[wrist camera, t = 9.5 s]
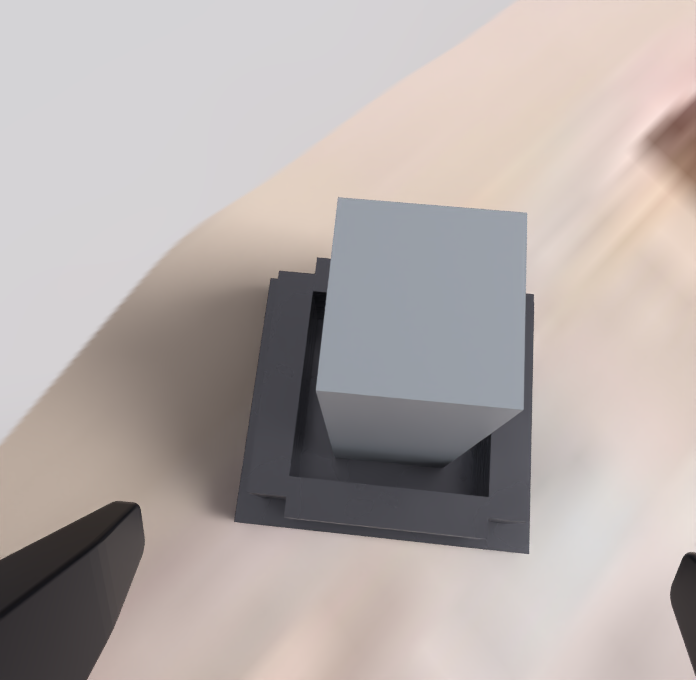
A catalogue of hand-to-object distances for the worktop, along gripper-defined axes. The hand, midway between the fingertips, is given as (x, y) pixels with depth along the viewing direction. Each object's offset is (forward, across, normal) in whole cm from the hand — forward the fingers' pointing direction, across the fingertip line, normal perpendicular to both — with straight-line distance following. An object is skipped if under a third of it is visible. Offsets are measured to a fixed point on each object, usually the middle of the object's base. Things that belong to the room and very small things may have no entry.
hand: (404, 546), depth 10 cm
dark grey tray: (+12, 0, -6) cm, 13 cm away
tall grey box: (+11, 0, -5) cm, 12 cm away
